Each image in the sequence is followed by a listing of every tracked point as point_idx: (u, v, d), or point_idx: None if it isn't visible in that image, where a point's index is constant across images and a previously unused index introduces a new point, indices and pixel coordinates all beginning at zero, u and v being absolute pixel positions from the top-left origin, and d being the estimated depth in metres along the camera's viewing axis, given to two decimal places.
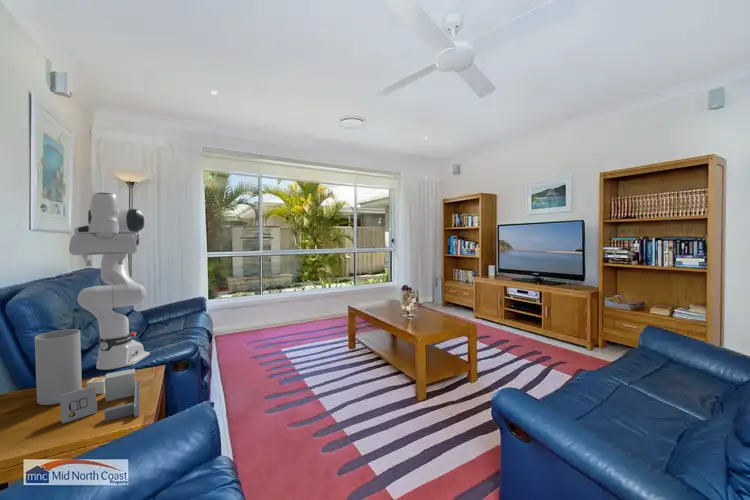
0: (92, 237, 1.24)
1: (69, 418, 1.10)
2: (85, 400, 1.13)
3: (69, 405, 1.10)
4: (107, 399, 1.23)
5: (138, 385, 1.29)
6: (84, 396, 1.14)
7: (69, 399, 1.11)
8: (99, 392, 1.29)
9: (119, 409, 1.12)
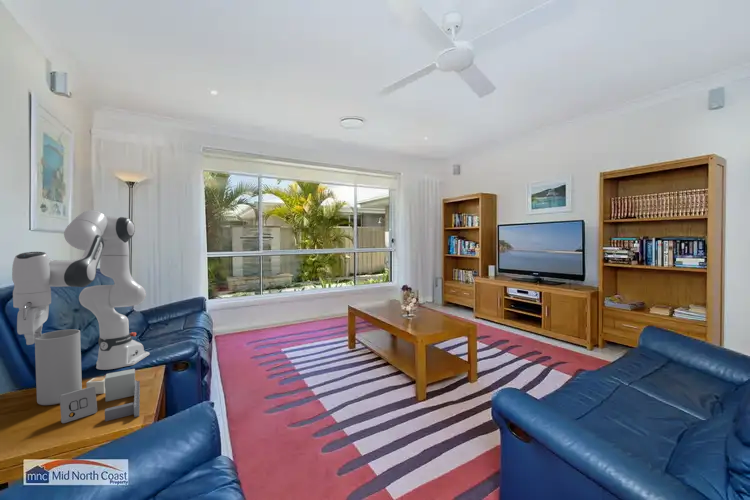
0: None
1: (69, 418, 1.10)
2: (85, 400, 1.13)
3: (69, 405, 1.10)
4: (107, 399, 1.23)
5: (138, 385, 1.29)
6: (84, 396, 1.14)
7: (69, 399, 1.11)
8: (99, 392, 1.29)
9: (119, 409, 1.12)
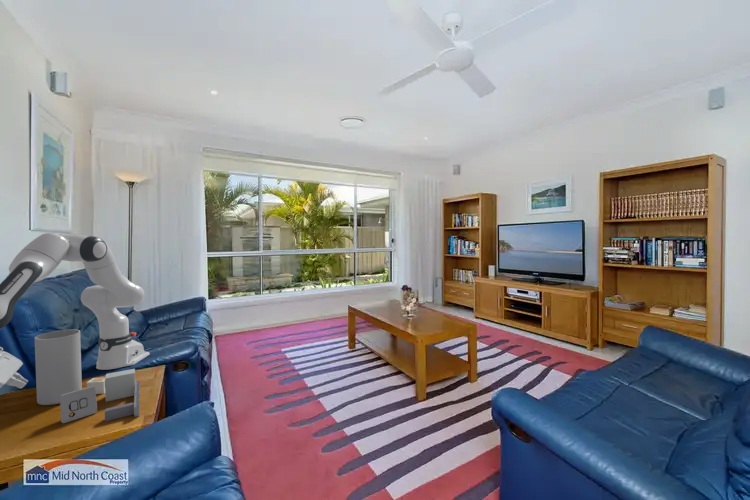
0: None
1: (69, 418, 1.10)
2: (85, 400, 1.13)
3: (69, 405, 1.10)
4: (107, 399, 1.23)
5: (138, 385, 1.29)
6: (84, 396, 1.14)
7: (69, 399, 1.11)
8: (99, 392, 1.29)
9: (119, 409, 1.12)
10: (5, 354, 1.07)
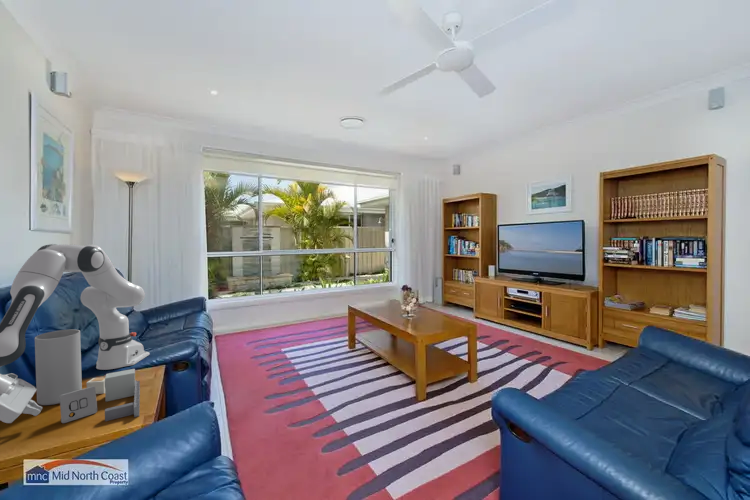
0: None
1: (69, 418, 1.10)
2: (85, 400, 1.13)
3: (69, 405, 1.10)
4: (107, 399, 1.23)
5: (138, 385, 1.29)
6: (84, 396, 1.14)
7: (69, 399, 1.11)
8: (99, 392, 1.29)
9: (119, 409, 1.12)
10: (19, 381, 1.10)
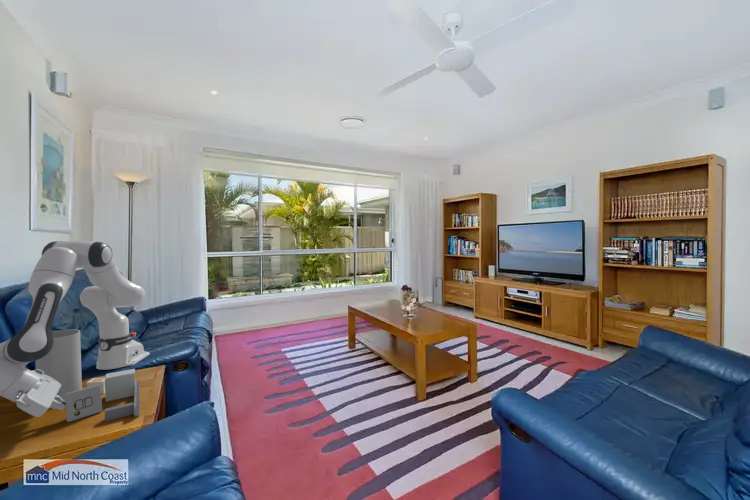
0: None
1: (74, 417, 1.10)
2: (90, 399, 1.14)
3: (74, 404, 1.11)
4: (107, 399, 1.23)
5: (138, 385, 1.29)
6: (89, 395, 1.14)
7: (74, 398, 1.11)
8: None
9: (119, 409, 1.12)
10: (45, 377, 1.14)
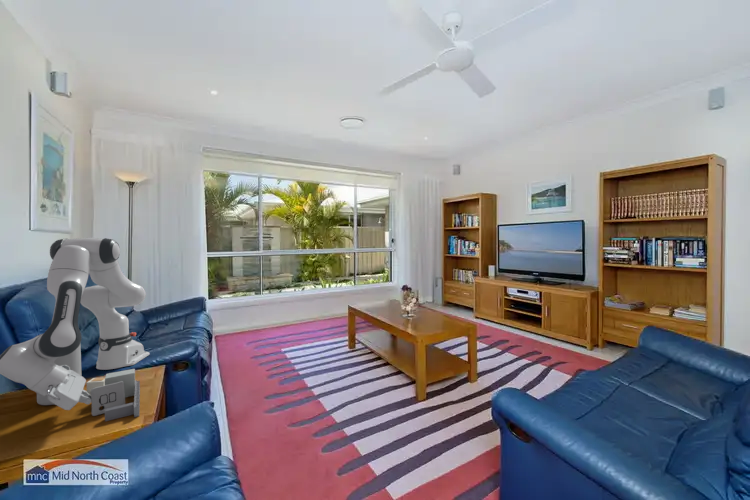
0: None
1: (99, 411, 1.14)
2: (114, 394, 1.17)
3: (99, 399, 1.15)
4: None
5: (138, 385, 1.29)
6: (113, 390, 1.18)
7: (99, 393, 1.15)
8: None
9: (119, 409, 1.12)
10: (71, 372, 1.17)
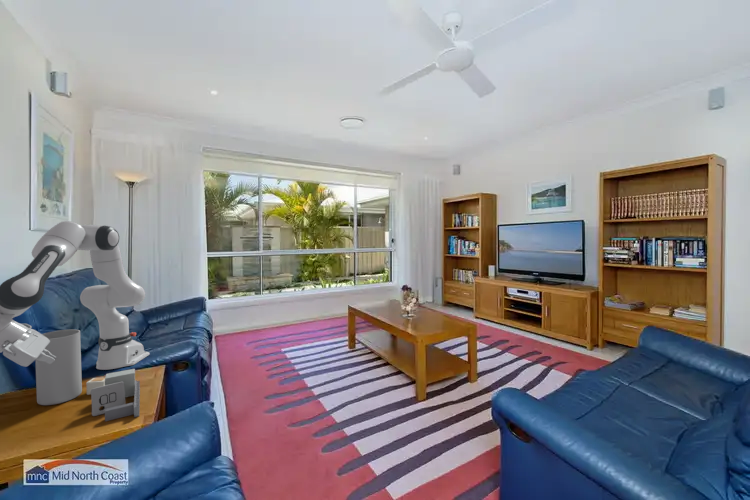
0: None
1: (99, 411, 1.14)
2: (114, 395, 1.17)
3: (99, 399, 1.15)
4: None
5: (138, 385, 1.29)
6: (113, 391, 1.18)
7: (100, 393, 1.15)
8: None
9: (119, 409, 1.12)
10: (33, 332, 1.12)
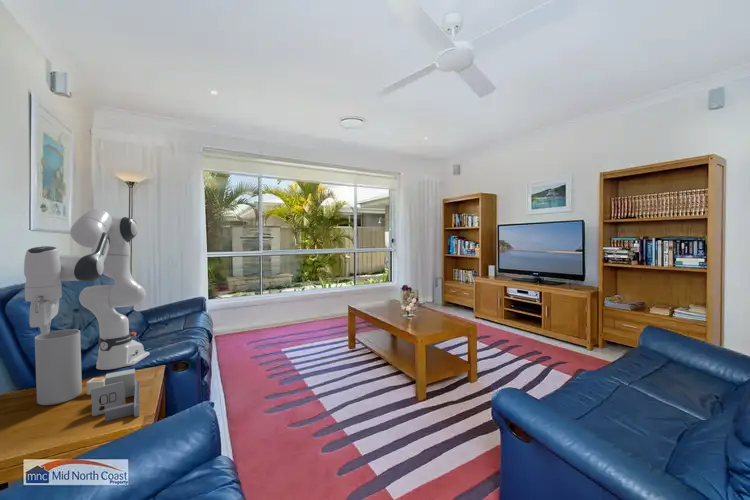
0: None
1: (99, 411, 1.14)
2: (114, 395, 1.17)
3: (99, 399, 1.15)
4: None
5: (138, 385, 1.29)
6: (113, 391, 1.18)
7: (100, 393, 1.15)
8: None
9: (119, 409, 1.12)
10: (57, 299, 1.18)
